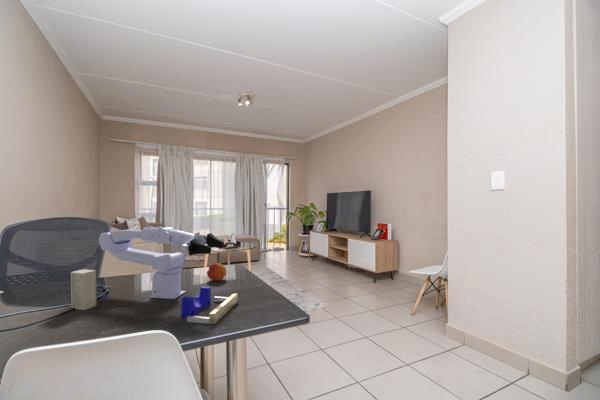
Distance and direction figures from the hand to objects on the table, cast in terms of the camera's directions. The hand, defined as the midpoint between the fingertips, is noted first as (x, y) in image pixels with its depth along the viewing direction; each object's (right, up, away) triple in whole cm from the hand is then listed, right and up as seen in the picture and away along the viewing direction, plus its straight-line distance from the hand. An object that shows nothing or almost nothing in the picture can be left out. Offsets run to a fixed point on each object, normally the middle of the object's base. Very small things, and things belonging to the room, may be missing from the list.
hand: (217, 247), depth 100 cm
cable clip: (-5, -19, -8) cm, 22 cm away
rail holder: (+2, -19, -9) cm, 21 cm away
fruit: (-8, -19, +26) cm, 33 cm away
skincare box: (-43, -19, -7) cm, 47 cm away
